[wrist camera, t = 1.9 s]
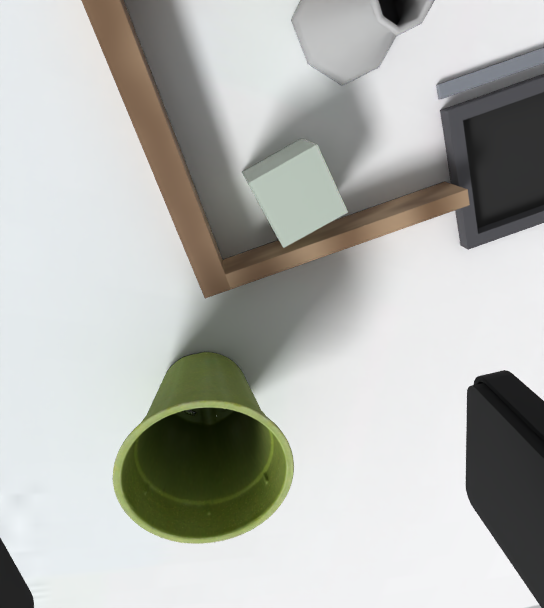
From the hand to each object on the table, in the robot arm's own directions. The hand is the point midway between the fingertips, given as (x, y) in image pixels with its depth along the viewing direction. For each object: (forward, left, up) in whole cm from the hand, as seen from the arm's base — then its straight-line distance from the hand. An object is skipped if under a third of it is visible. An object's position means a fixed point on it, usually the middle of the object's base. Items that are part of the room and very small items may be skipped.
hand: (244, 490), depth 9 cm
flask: (-13, -8, -30) cm, 33 cm away
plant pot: (+6, +15, -30) cm, 34 cm away
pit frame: (-24, +5, -29) cm, 38 cm away
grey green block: (-6, +1, -29) cm, 30 cm away
